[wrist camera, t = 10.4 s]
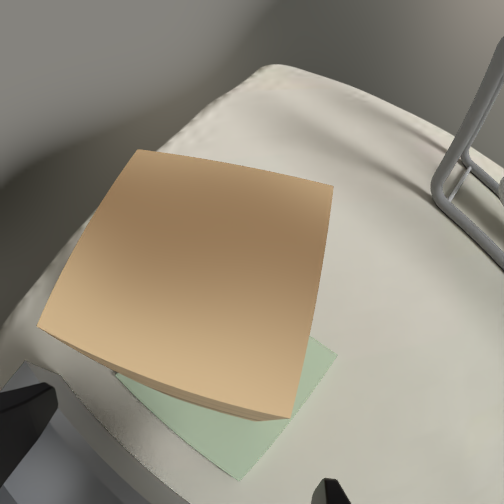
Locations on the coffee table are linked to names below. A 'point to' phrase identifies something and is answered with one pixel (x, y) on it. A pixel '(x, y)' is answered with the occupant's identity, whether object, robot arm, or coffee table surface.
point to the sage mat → (231, 418)
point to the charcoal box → (77, 458)
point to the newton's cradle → (497, 73)
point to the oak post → (198, 282)
